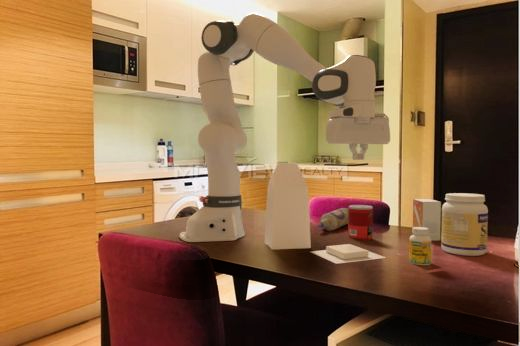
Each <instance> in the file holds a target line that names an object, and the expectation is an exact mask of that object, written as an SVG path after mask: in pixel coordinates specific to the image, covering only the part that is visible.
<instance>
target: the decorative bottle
mask: <svg viewBox="0 0 520 346" xmlns="http://www.w3.org/2000/svg"><path fill="white" fill-rule="evenodd" d="M345 225H348V207H347V208H345V207H341V208H339V209H335V210H332V211H330V212H327V213H324V214H323V215H321V217H320V218H319V222H318V223H317V228H318V229H324V230H325V231H334V230H337V229H339V228H342V227H344V226H345Z"/></svg>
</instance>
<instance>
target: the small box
mask: <svg viewBox="0 0 520 346" xmlns="http://www.w3.org/2000/svg"><path fill="white" fill-rule="evenodd" d="M441 224H442V201H438V200H435V199H431V198H413V199H412V228H413V227H425V228H428V229H429V233H428V234H427V236H429V237H430V238H431V242H432V241H435V242H436V241H438V242H439V241H441Z"/></svg>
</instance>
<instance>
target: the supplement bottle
mask: <svg viewBox="0 0 520 346" xmlns="http://www.w3.org/2000/svg"><path fill="white" fill-rule="evenodd" d="M411 232H412V233H411V234H412V235H410V236H409V242H408V244H409V245H408V247H409V248H408V249H409V251H408V255H409V256H408V257H409V258H408V261H409V263H410V264H413V265H417V266H419V265H420V266H430V265H431V264H432V241H431V238H430V237H429V236H427V234H428V233H429V229H428V228H425V227H413V226H412V229H411Z"/></svg>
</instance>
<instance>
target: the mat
mask: <svg viewBox="0 0 520 346" xmlns="http://www.w3.org/2000/svg"><path fill="white" fill-rule="evenodd" d="M311 253H312V254H313V255H316V256H318V257H320V258H322V259H325V260H327V261H329V262H331V263H334V264H336V265H337V264H346V263H356V262H363V261H372V260H373V261H374V260H378V259H379V260H380V259H387V257H386V256H382V255H380V254H378V253H376V252H372V251H369V256H368V257H359V258H351V259H342V258H339V257H337V256H335V255H332V254H330V253H328V252H326V249H323V250H322V249H321V250H320V249H319V250H314V251H313V250H312V251H310V254H311Z"/></svg>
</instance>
